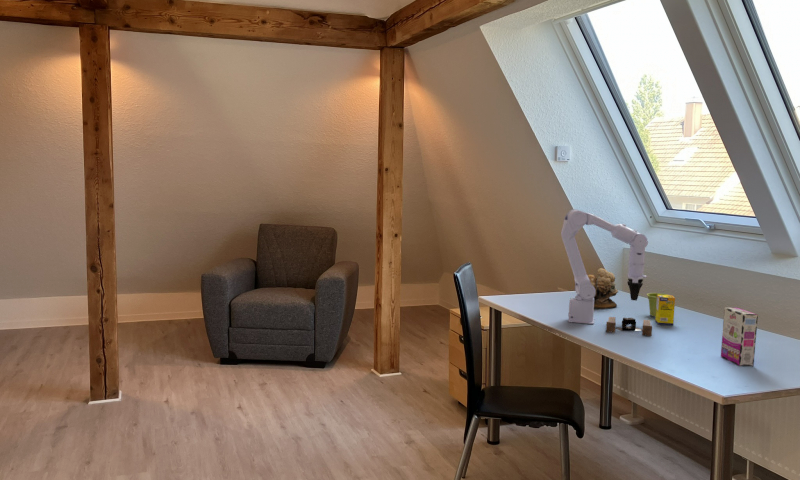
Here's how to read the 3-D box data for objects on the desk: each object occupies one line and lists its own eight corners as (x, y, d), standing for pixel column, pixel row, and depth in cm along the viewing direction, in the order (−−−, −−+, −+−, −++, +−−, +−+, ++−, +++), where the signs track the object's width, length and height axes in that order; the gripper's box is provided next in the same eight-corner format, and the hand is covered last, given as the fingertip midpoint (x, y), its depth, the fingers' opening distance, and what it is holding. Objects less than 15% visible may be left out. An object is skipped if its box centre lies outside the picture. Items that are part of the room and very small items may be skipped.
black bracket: (638, 328, 264) (639, 316, 263) (648, 332, 257) (649, 320, 256) (608, 328, 261) (609, 316, 261) (618, 333, 254) (619, 321, 254)
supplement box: (673, 325, 266) (675, 297, 265) (657, 324, 268) (659, 296, 266) (670, 322, 272) (672, 295, 271) (654, 321, 273) (656, 294, 272)
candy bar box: (754, 366, 213) (759, 314, 211) (739, 366, 213) (743, 314, 211) (734, 356, 224) (738, 306, 222) (719, 356, 224) (723, 306, 222)
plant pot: (666, 319, 277) (667, 298, 276) (642, 316, 283) (643, 295, 282) (672, 315, 285) (674, 295, 284) (649, 312, 290) (651, 292, 289)
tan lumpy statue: (608, 303, 309) (611, 265, 307) (624, 308, 298) (627, 269, 296) (573, 304, 304) (575, 266, 302) (588, 310, 293) (590, 270, 291)
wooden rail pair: (606, 331, 254) (606, 322, 254) (607, 323, 267) (608, 314, 267) (651, 336, 249) (652, 326, 249) (650, 327, 262) (651, 318, 262)
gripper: (647, 267, 258) (645, 302, 260) (647, 262, 272) (645, 296, 273) (627, 265, 261) (625, 301, 262) (628, 261, 274) (626, 294, 276)
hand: (634, 298), depth 268 cm, fingers open, 7 cm apart
